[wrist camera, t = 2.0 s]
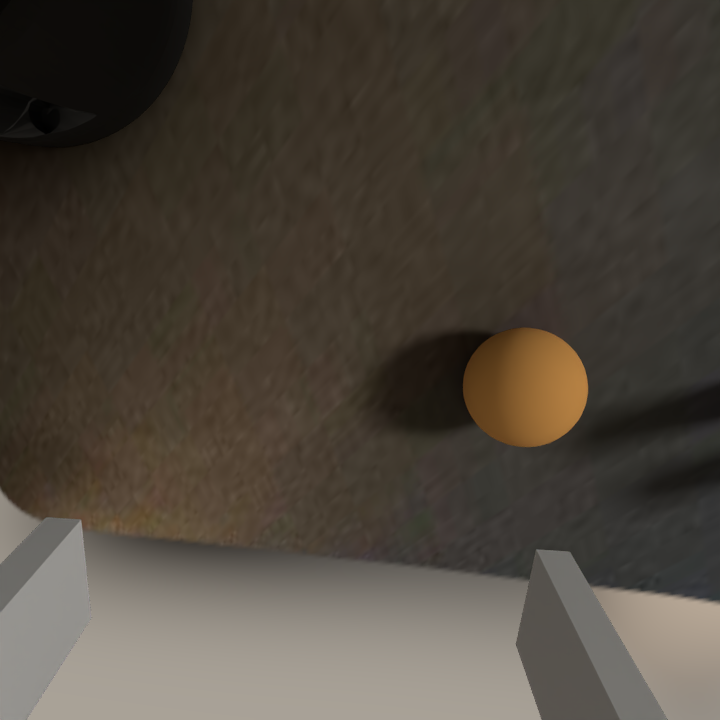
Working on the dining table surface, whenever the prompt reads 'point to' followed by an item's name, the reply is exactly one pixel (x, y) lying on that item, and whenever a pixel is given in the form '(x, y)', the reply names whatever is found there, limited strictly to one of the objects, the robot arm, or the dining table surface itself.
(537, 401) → the ball
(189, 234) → the dining table surface
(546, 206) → the dining table surface
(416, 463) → the dining table surface
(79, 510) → the dining table surface
